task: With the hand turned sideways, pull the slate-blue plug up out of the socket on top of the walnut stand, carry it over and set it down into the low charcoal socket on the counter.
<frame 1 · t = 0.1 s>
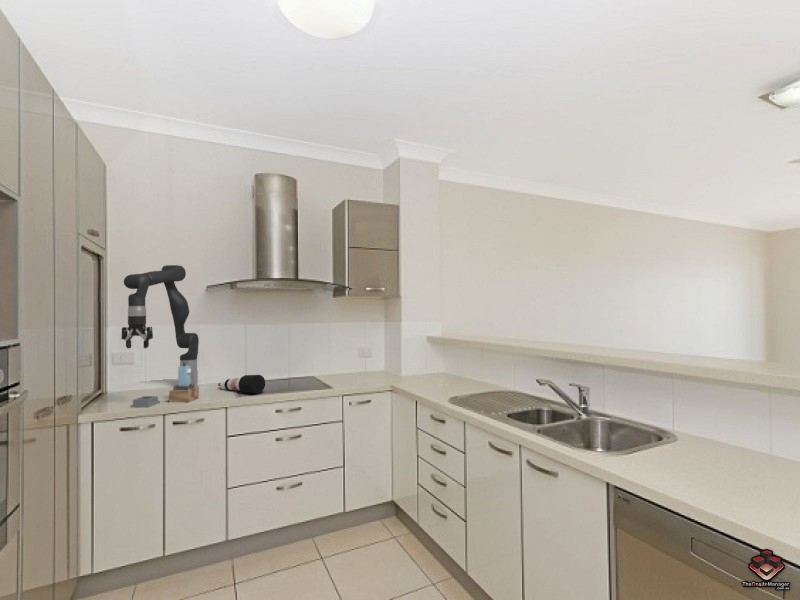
hand: (137, 348, 198), 29 cm above the worktop, tool pointing down, fingers open, 8 cm apart
plug: (184, 388, 212), point 6 cm above the worktop, touching upper stand
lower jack: (145, 404, 202), on the worktop
upper stand: (184, 400, 212), on the worktop
black and white bottle: (238, 391, 233), on the worktop
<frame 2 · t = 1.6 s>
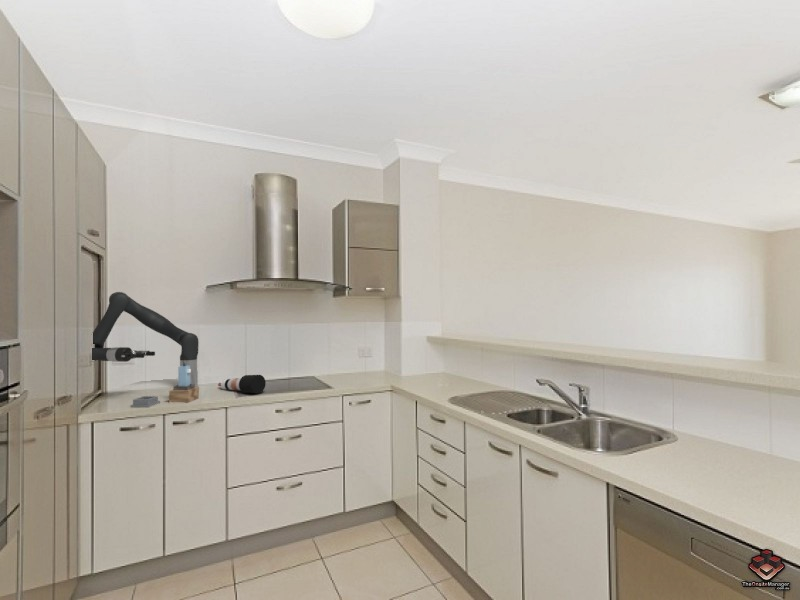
hand: (149, 354, 213), 24 cm above the worktop, tool horizontal, fingers open, 8 cm apart
nothing on the worktop moved.
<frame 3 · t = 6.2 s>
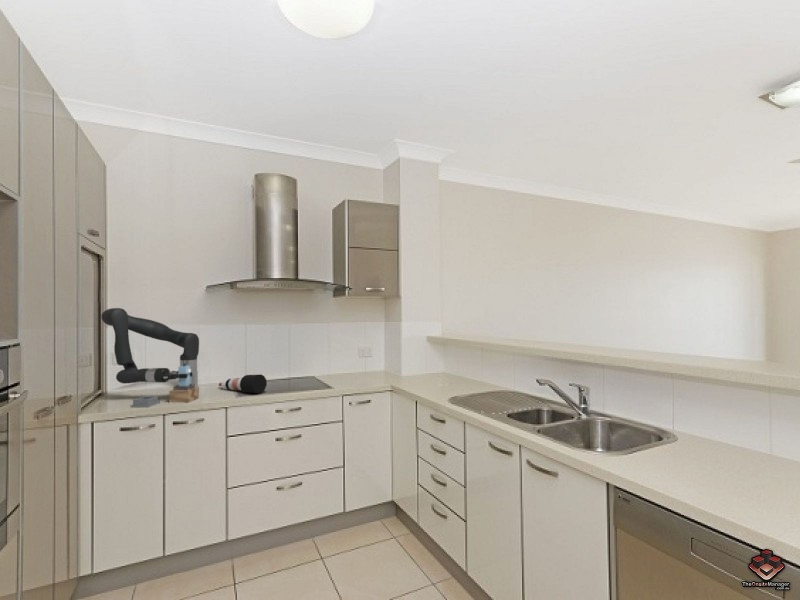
hand: (189, 375, 212), 13 cm above the worktop, tool horizontal, fingers closed on plug, 4 cm apart
plug: (184, 388, 212), point 6 cm above the worktop, touching gripper, upper stand
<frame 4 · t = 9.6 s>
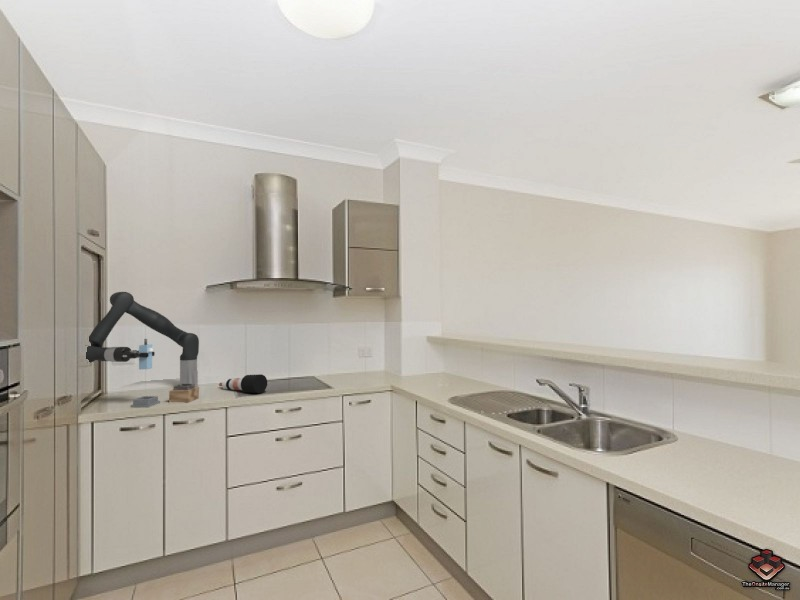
hand: (151, 354, 202), 25 cm above the worktop, tool horizontal, fingers closed on plug, 4 cm apart
plug: (145, 368, 202), point 18 cm above the worktop, touching gripper
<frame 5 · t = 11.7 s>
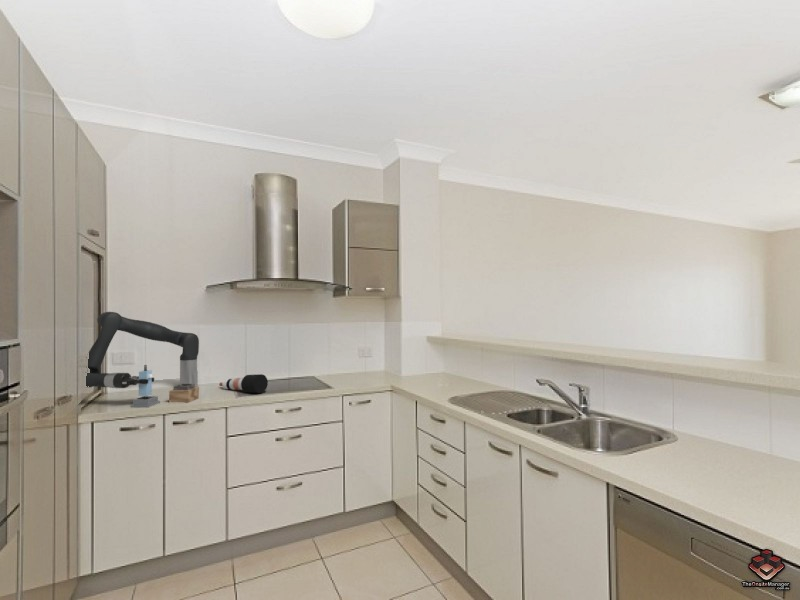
hand: (150, 380, 202), 12 cm above the worktop, tool horizontal, fingers closed on plug, 4 cm apart
plug: (145, 394, 202), point 5 cm above the worktop, touching gripper
when the fingers open (10 cm above the worktop, at t = 13.1 s): plug drops 1 cm, resting on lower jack.
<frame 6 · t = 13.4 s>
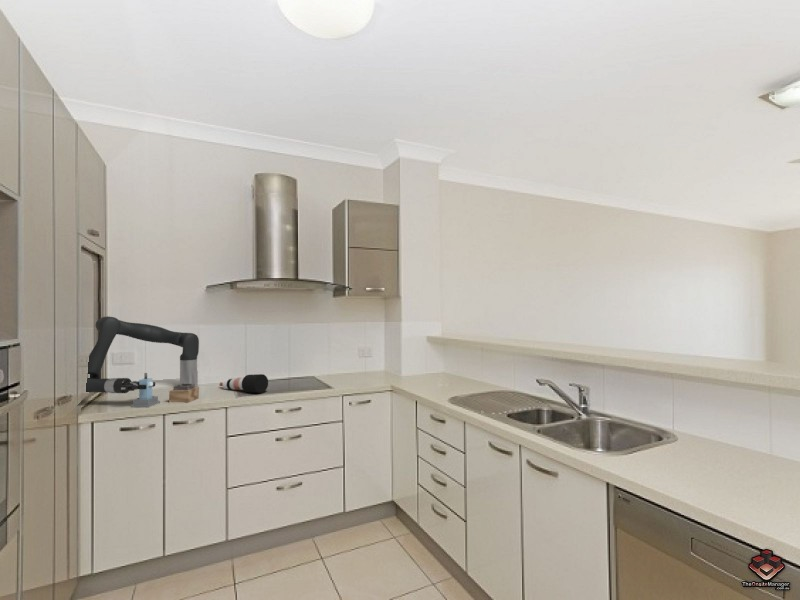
hand: (150, 385, 202), 10 cm above the worktop, tool horizontal, fingers open, 6 cm apart
plug: (145, 402, 202), point 1 cm above the worktop, touching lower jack
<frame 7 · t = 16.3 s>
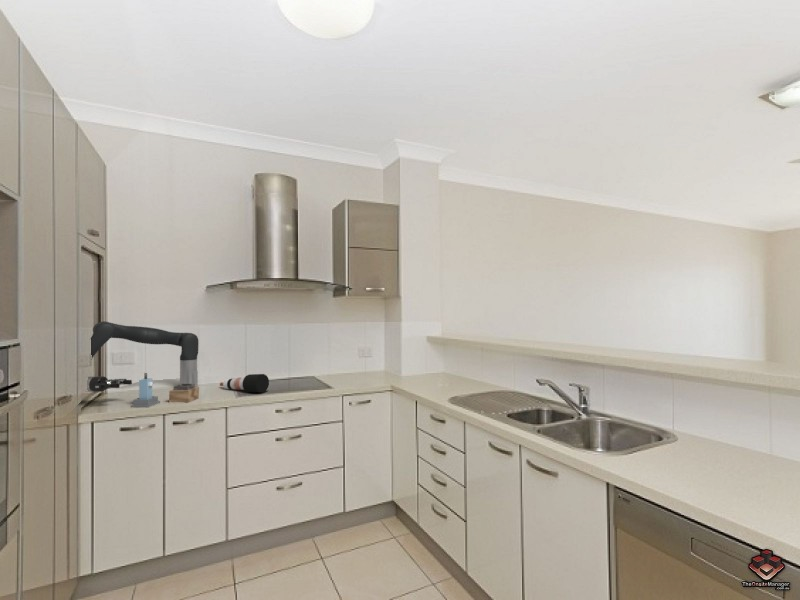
hand: (125, 383, 203), 10 cm above the worktop, tool horizontal, fingers open, 8 cm apart
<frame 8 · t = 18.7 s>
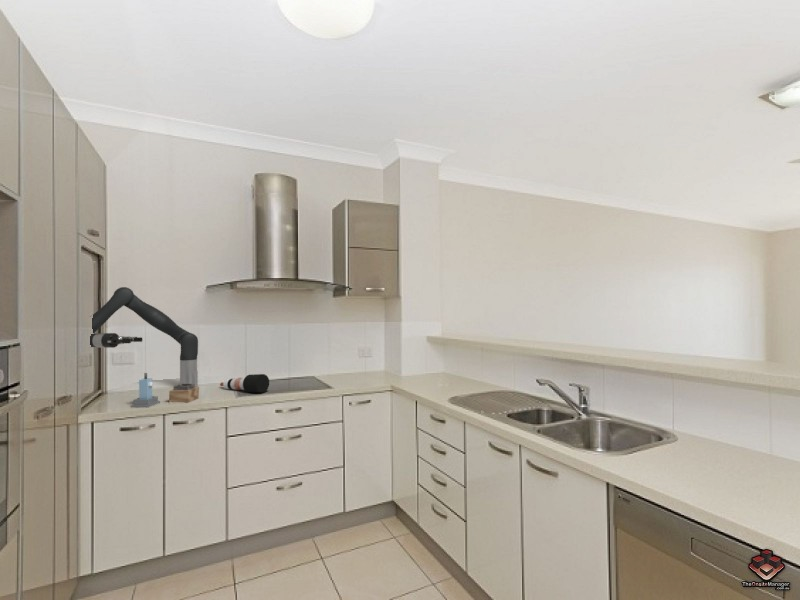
hand: (136, 340, 209), 32 cm above the worktop, tool horizontal, fingers open, 8 cm apart
at the end: plug 0.0 cm off-centre on the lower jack, point 1.0 cm above the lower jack's base; plug tilted 0°; the gripper is holding nothing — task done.
